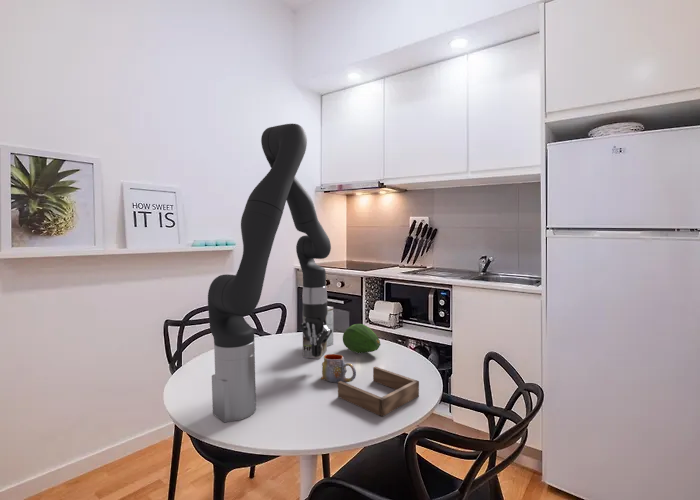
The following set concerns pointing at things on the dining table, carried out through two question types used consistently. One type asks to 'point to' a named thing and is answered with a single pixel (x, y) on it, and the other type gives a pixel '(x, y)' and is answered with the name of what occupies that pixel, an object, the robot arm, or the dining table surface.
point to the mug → (336, 369)
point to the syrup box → (330, 324)
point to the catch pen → (386, 404)
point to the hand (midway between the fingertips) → (316, 355)
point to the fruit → (360, 339)
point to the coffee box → (308, 348)
